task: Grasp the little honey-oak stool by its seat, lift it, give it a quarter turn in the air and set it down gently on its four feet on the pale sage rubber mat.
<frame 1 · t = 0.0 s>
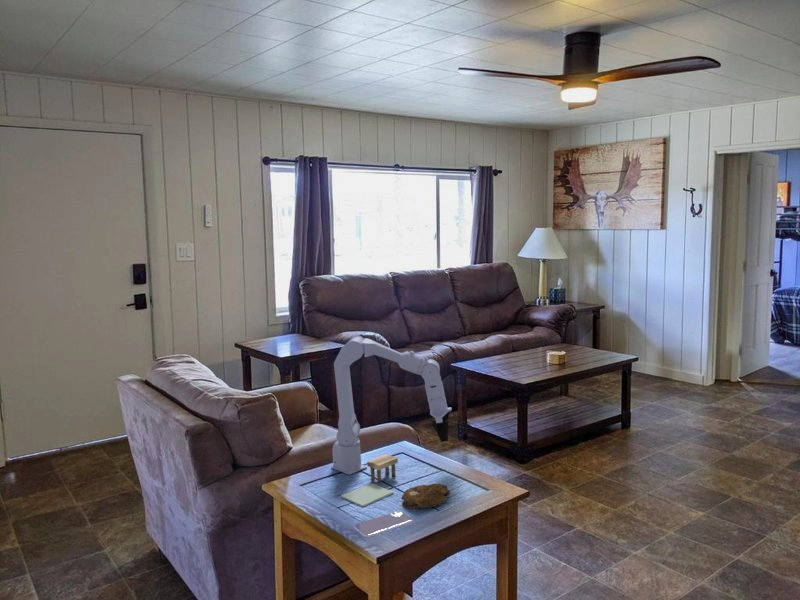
hand: (444, 437, 201), 11 cm above the table, tool pointing down, fingers open, 7 cm apart
mobile phone: (383, 526, 166), on the table
mat: (367, 495, 184), on the table
stool: (383, 477, 196), on the table
decorative rock: (427, 502, 179), on the table
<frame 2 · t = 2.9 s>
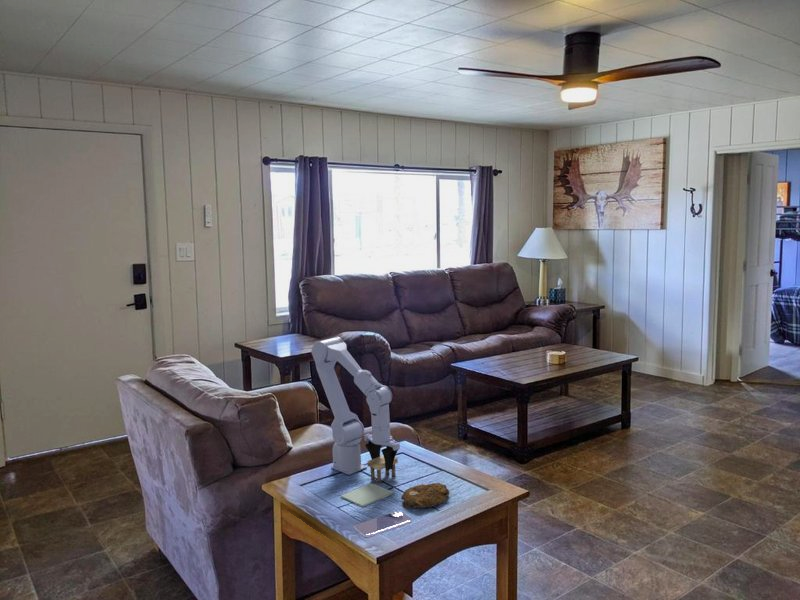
hand: (382, 466, 196), 4 cm above the table, tool pointing down, fingers closed on stool, 5 cm apart
stool: (383, 477, 196), on the table, touching gripper
everything else where it was.
when the fingers open (5 cm above the table, at t = 7.2 s): stool stays where it is, resting on mat.
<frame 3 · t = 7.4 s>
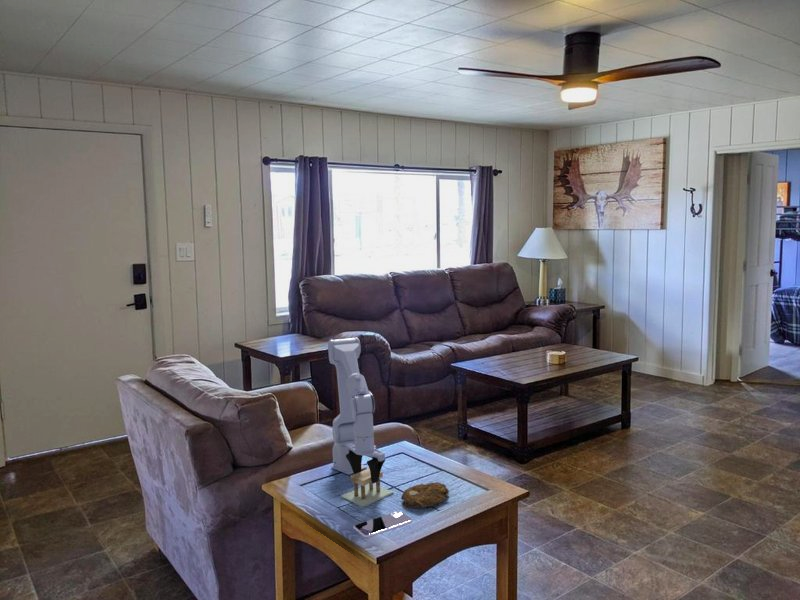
hand: (366, 478, 183), 5 cm above the table, tool pointing down, fingers open, 7 cm apart
stool: (367, 493, 184), point 1 cm above the table, touching mat
everything else where it was.
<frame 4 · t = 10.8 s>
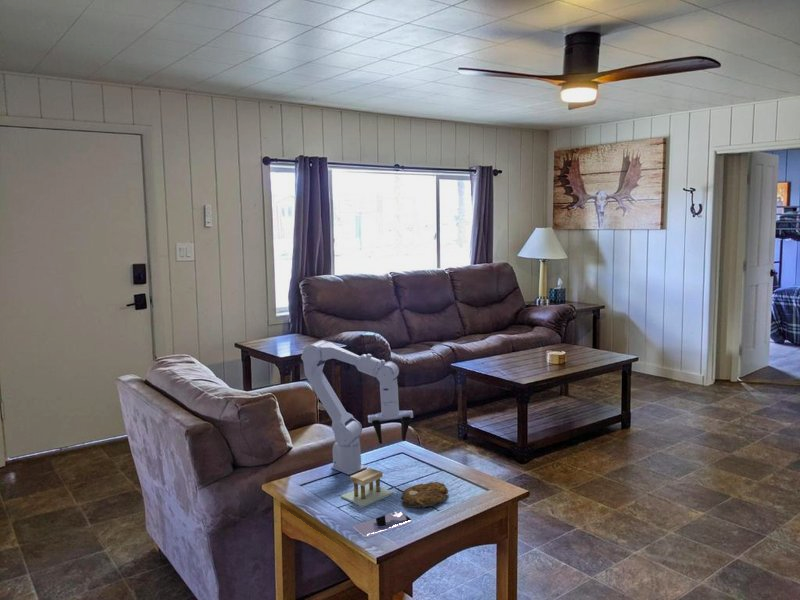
hand: (392, 441, 199), 10 cm above the table, tool pointing down, fingers open, 7 cm apart
nothing on the table moved.
at the end: stool inside the target area on the mat (0.2 cm from its centre), point 0.5 cm above the mat's base; stool tilted 0°; the gripper is holding nothing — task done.
